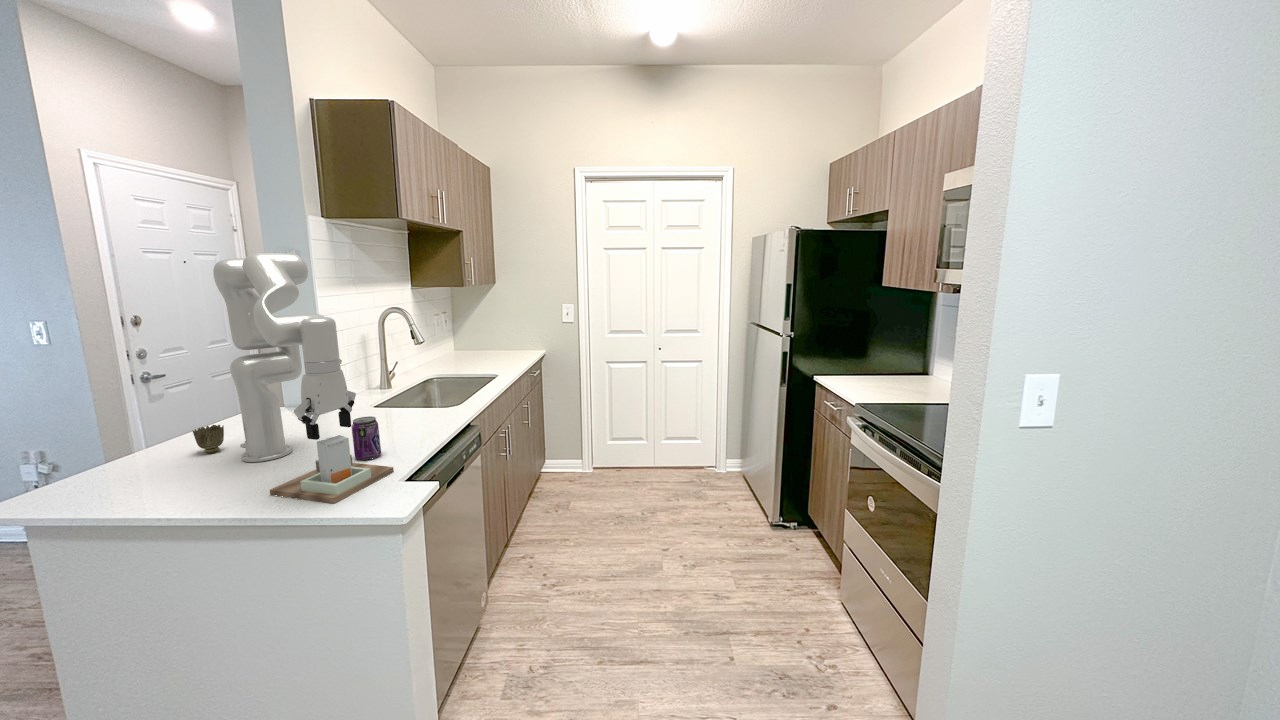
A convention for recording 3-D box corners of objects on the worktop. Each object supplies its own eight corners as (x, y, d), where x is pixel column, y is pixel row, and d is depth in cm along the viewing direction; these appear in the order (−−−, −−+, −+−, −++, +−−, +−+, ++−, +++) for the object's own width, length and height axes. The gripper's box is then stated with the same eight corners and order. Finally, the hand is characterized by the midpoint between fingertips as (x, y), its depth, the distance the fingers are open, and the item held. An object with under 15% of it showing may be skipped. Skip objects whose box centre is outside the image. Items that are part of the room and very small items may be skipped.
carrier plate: (270, 495, 127) (269, 489, 126) (335, 465, 146) (335, 460, 145) (334, 503, 122) (333, 498, 121) (393, 472, 141) (393, 467, 140)
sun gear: (309, 472, 137) (307, 459, 136) (335, 461, 145) (333, 448, 144) (334, 475, 135) (333, 462, 134) (359, 463, 143) (358, 451, 142)
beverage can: (370, 462, 148) (365, 423, 146) (349, 460, 150) (345, 422, 147) (386, 453, 155) (382, 416, 153) (366, 452, 156) (362, 415, 154)
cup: (191, 454, 156) (187, 430, 154) (218, 446, 162) (214, 423, 161) (205, 457, 153) (201, 432, 151) (232, 449, 160) (228, 425, 158)
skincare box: (330, 489, 126) (324, 444, 124) (321, 485, 128) (315, 441, 126) (354, 480, 131) (349, 437, 129) (345, 477, 133) (339, 434, 131)
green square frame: (301, 490, 126) (300, 481, 125) (337, 473, 136) (336, 464, 136) (337, 495, 123) (335, 485, 122) (371, 477, 133) (370, 468, 133)
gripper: (339, 359, 133) (345, 421, 136) (278, 373, 117) (287, 442, 120) (362, 361, 131) (368, 423, 135) (303, 375, 115) (312, 445, 118)
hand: (330, 432), depth 127 cm, fingers open, 9 cm apart
